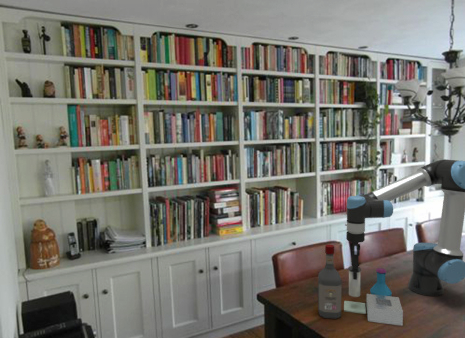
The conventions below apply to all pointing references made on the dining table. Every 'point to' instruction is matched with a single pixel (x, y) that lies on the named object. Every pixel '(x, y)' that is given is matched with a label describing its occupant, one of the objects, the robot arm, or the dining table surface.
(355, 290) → the salt shaker
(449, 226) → the robot arm
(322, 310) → the liquor
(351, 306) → the mat
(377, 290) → the perfume bottle
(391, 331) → the dining table surface
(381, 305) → the housing
